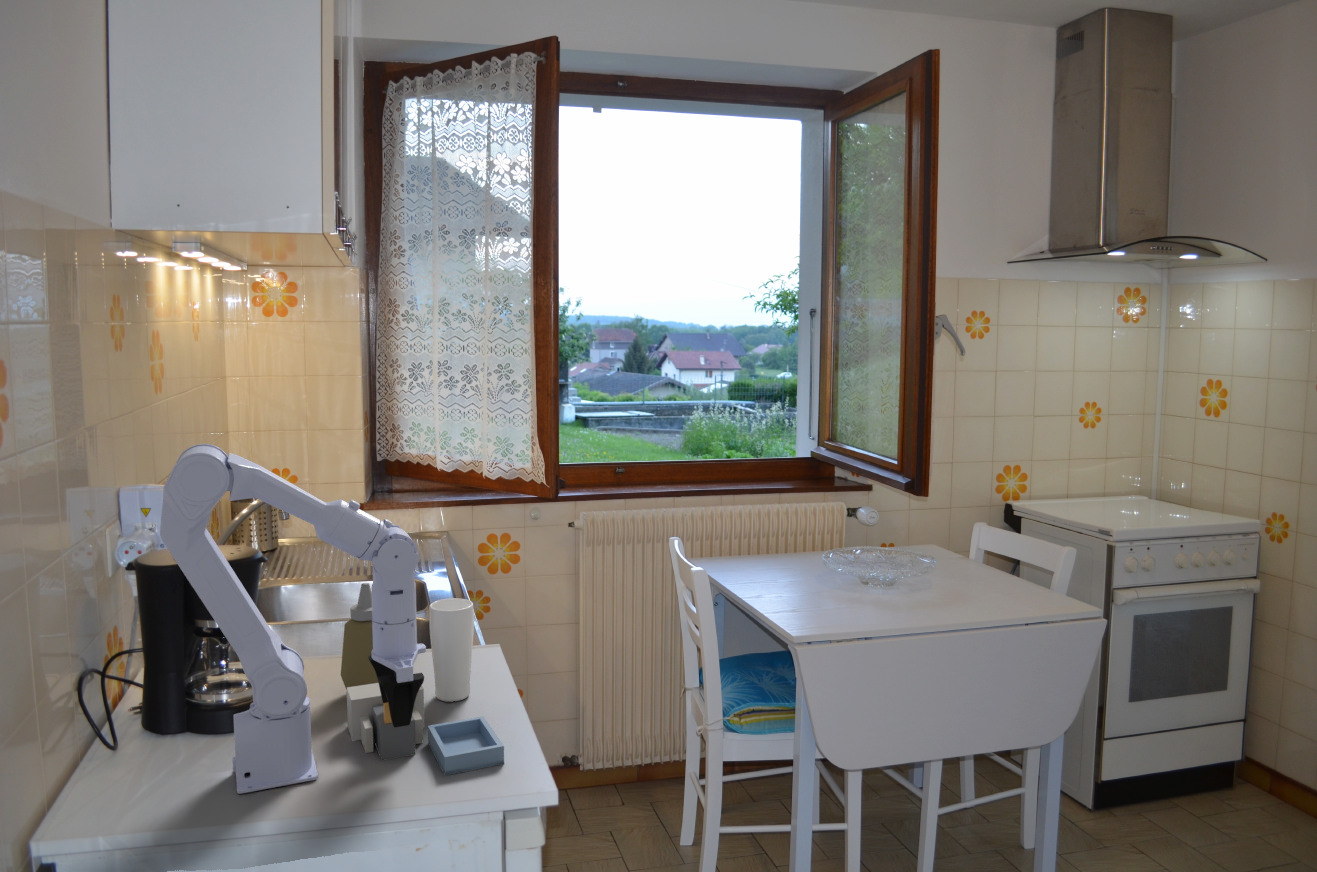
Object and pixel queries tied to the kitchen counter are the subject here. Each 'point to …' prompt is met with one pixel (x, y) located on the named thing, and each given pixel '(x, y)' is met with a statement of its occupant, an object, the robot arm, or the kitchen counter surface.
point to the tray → (465, 745)
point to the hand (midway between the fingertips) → (396, 714)
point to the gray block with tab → (392, 735)
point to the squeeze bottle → (359, 643)
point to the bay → (362, 713)
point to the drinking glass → (452, 647)
